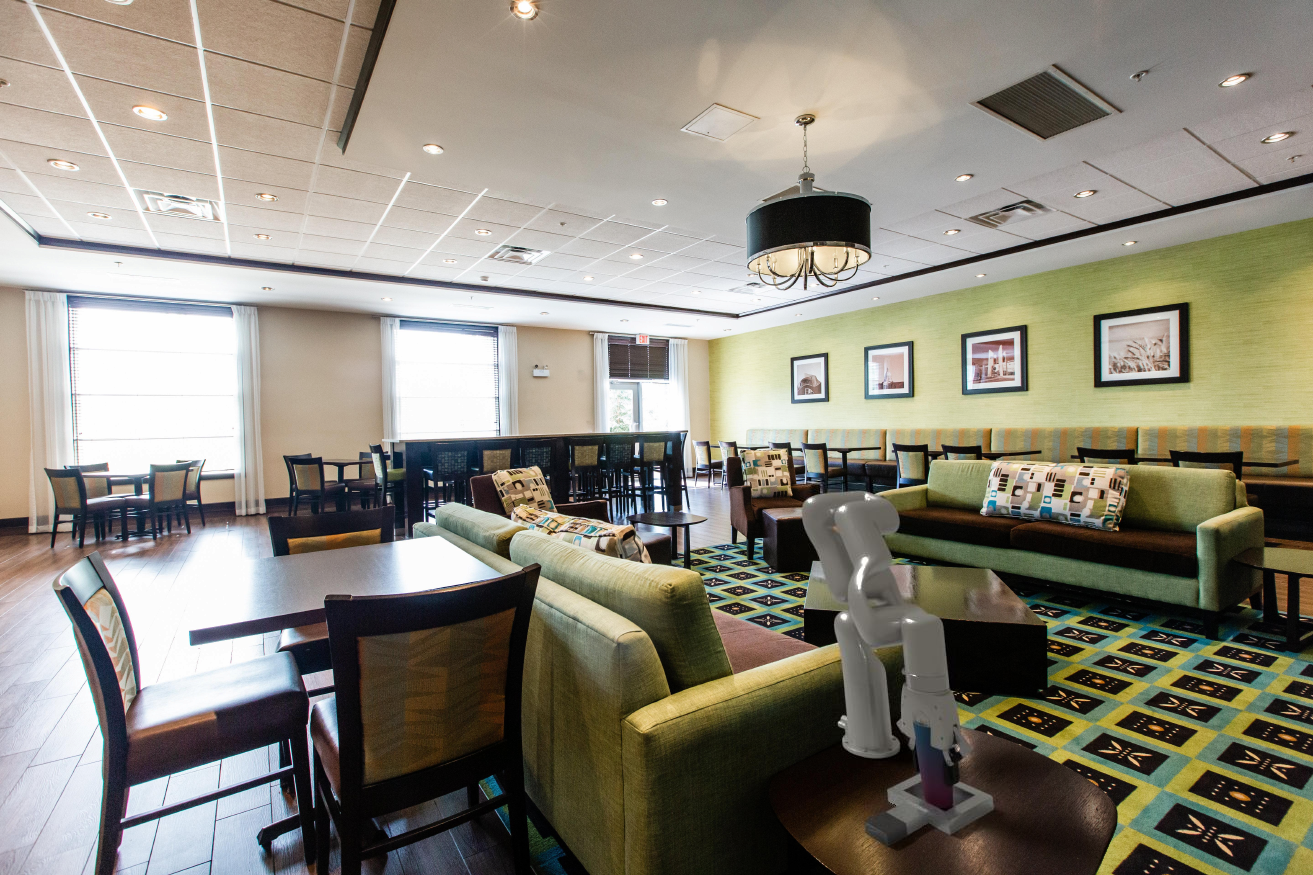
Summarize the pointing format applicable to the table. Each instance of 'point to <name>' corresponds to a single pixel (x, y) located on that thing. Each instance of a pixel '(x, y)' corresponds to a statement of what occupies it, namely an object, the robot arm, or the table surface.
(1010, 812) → the table surface
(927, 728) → the cup
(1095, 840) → the table surface
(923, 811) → the holder
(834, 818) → the table surface
